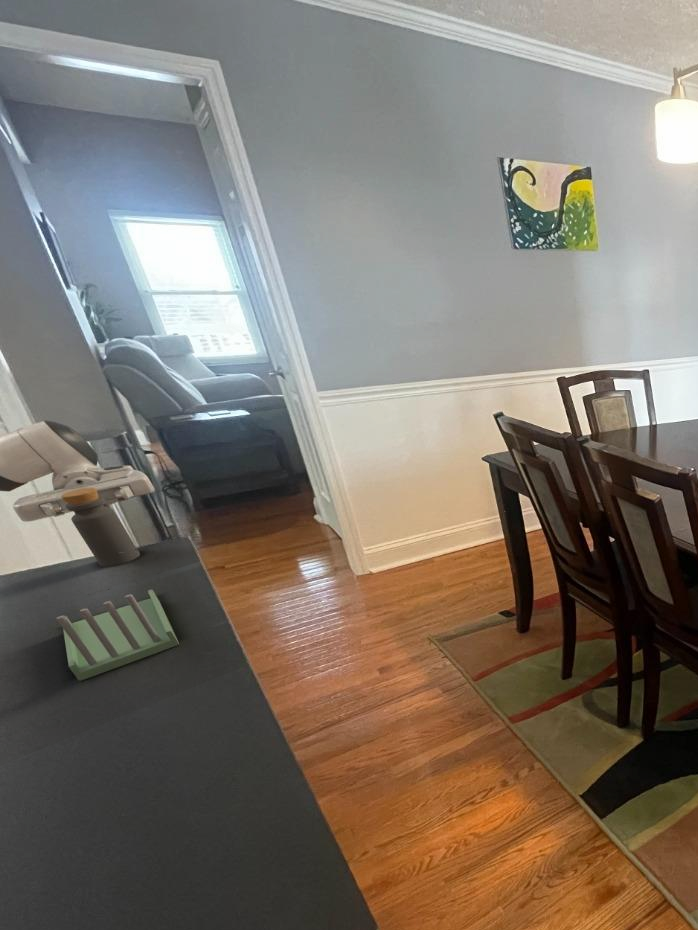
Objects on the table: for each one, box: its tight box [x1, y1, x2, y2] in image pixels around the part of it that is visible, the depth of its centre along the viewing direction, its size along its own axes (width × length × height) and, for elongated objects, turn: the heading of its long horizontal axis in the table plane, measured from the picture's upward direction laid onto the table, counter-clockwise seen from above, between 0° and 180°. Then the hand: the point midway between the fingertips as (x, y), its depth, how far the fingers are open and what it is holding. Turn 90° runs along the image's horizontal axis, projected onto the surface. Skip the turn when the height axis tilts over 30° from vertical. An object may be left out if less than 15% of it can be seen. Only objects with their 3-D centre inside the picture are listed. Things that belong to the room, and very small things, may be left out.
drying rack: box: [56, 589, 180, 682], centre depth 91 cm, size 11×20×9 cm, turn 48°
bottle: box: [61, 488, 141, 567], centre depth 114 cm, size 6×6×15 cm
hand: (90, 504), depth 120 cm, fingers open, 8 cm apart
